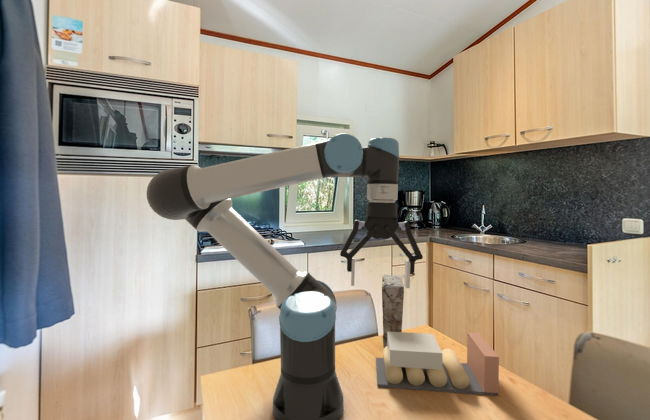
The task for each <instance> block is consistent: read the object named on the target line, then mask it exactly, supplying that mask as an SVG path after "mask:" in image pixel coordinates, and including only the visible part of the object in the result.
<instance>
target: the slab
mask: <svg viewBox="0 0 650 420" xmlns="http://www.w3.org/2000/svg"><path fill="white" fill-rule="evenodd" d="M387 348H388V356H389V363H390V366H393V367H408V368H423V369H438V370H442V349H441V347H440V344H439V343H438V341H437V339H436V337H435V335H434V333H426V332H425V333H424V332H422V333H421V332H406V331H405V332H387Z"/></svg>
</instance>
